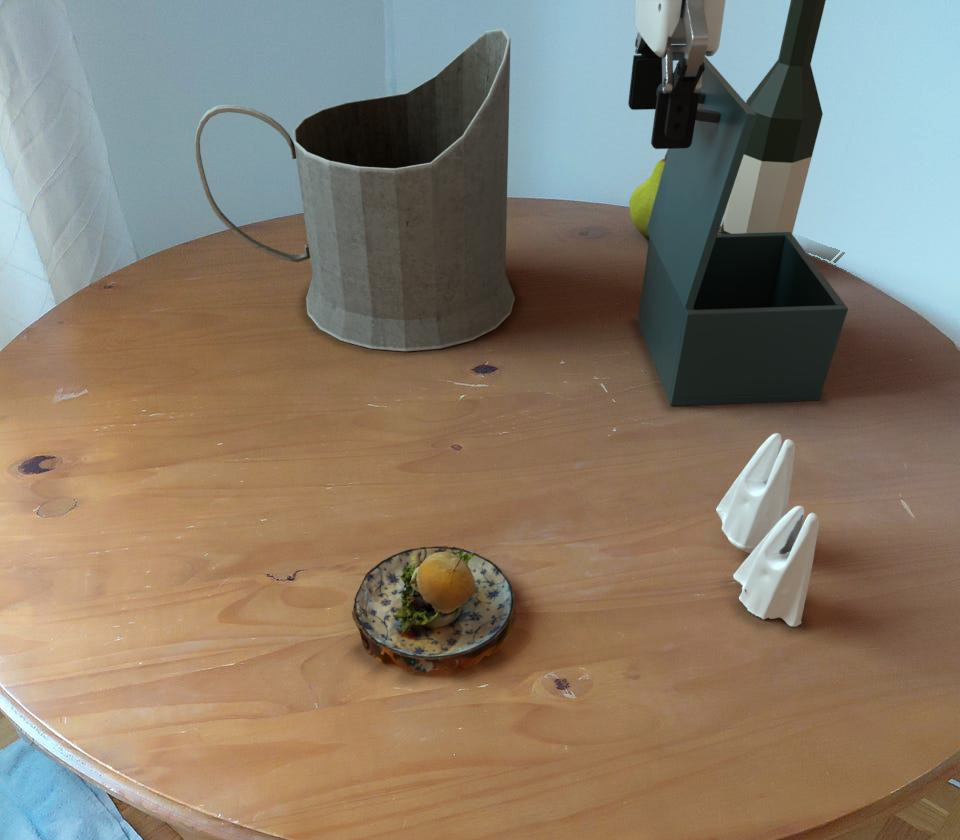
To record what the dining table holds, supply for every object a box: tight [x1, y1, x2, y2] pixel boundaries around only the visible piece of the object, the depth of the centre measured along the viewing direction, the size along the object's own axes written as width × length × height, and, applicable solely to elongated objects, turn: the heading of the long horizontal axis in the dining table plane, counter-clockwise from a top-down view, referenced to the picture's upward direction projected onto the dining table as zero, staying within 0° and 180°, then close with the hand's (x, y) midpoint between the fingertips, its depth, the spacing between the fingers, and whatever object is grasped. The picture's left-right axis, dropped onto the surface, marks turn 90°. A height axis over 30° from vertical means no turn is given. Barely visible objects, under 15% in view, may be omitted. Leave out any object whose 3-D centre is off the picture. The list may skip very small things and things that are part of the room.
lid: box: [647, 56, 757, 309], centre depth 78 cm, size 16×17×5 cm
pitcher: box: [194, 28, 515, 352], centre depth 90 cm, size 23×32×25 cm
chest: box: [637, 232, 849, 407], centre depth 88 cm, size 15×17×9 cm
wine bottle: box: [719, 0, 827, 234], centre depth 96 cm, size 8×8×30 cm
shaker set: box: [715, 432, 820, 628], centre depth 65 cm, size 12×4×11 cm, turn 3°
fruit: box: [628, 149, 669, 239], centre depth 107 cm, size 7×7×12 cm
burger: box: [351, 545, 516, 674], centre depth 63 cm, size 12×12×8 cm
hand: (657, 127), depth 75 cm, fingers open, 9 cm apart
